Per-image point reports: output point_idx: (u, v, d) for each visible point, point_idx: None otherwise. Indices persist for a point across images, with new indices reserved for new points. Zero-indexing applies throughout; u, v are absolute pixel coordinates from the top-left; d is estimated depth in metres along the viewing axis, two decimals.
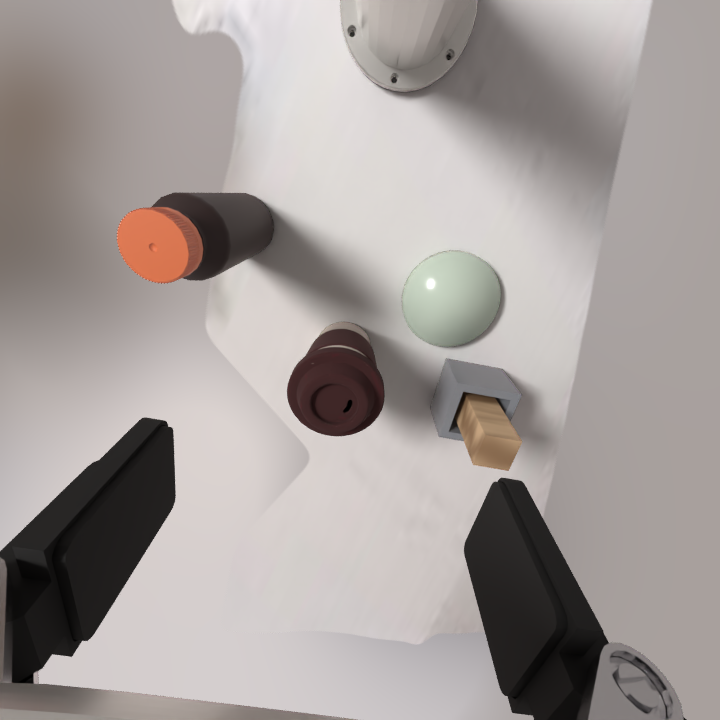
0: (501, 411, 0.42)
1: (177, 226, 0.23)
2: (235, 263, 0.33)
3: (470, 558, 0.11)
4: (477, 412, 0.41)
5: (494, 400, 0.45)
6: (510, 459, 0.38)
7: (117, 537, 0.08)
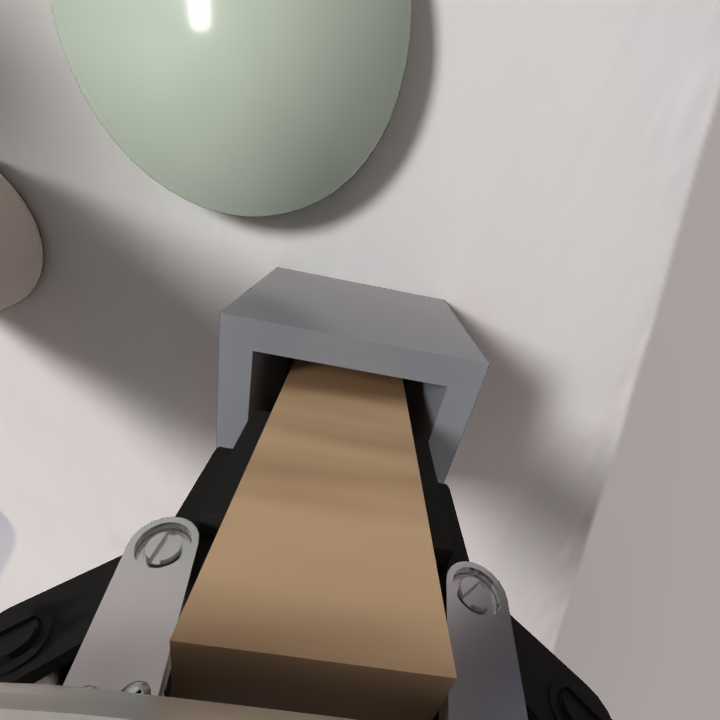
0: (402, 432, 0.10)
1: None
2: None
3: None
4: (276, 439, 0.09)
5: (397, 388, 0.12)
6: None
7: None
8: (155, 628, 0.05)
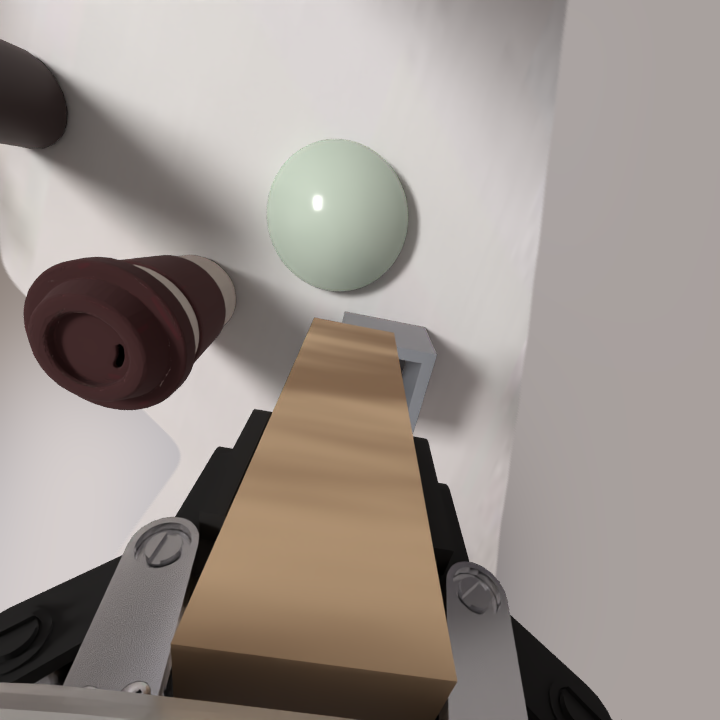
0: (402, 434, 0.10)
1: None
2: None
3: None
4: (276, 442, 0.09)
5: (397, 390, 0.12)
6: None
7: None
8: (155, 628, 0.05)
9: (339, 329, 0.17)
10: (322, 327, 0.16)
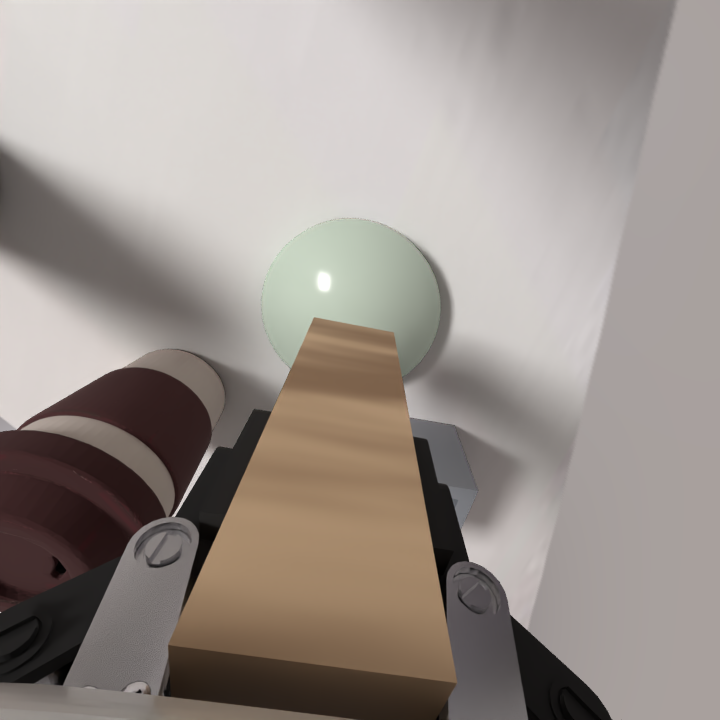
0: (402, 434, 0.10)
1: None
2: None
3: None
4: (275, 442, 0.09)
5: (396, 389, 0.12)
6: None
7: None
8: (155, 628, 0.05)
9: (339, 329, 0.17)
10: (321, 327, 0.16)
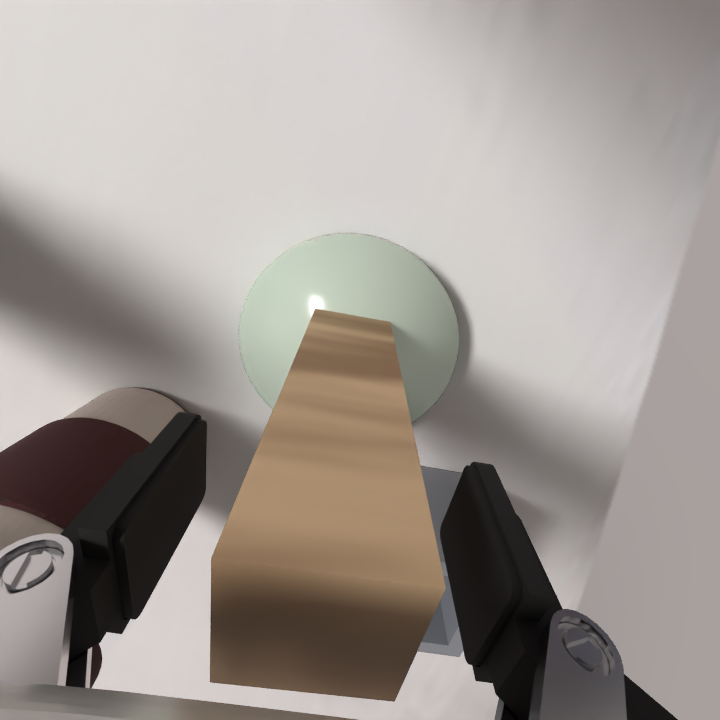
0: (399, 407, 0.11)
1: None
2: None
3: (444, 540, 0.11)
4: (287, 412, 0.10)
5: (393, 371, 0.14)
6: (393, 661, 0.07)
7: (161, 523, 0.08)
8: (36, 647, 0.05)
9: (339, 318, 0.18)
10: (322, 317, 0.18)
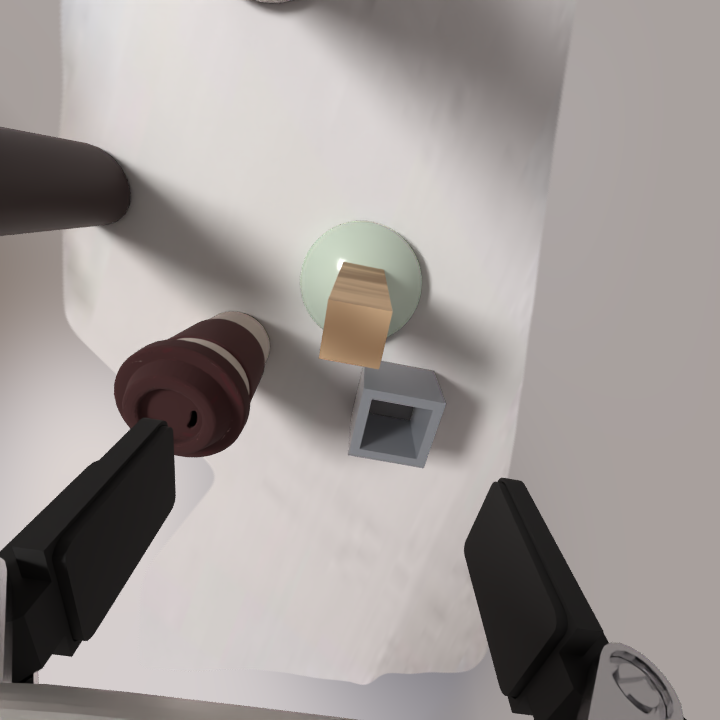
0: (384, 289, 0.27)
1: None
2: (23, 223, 0.24)
3: (470, 558, 0.11)
4: (340, 284, 0.26)
5: (383, 282, 0.29)
6: (378, 347, 0.23)
7: (117, 537, 0.08)
8: None
9: (356, 265, 0.34)
10: (348, 264, 0.33)
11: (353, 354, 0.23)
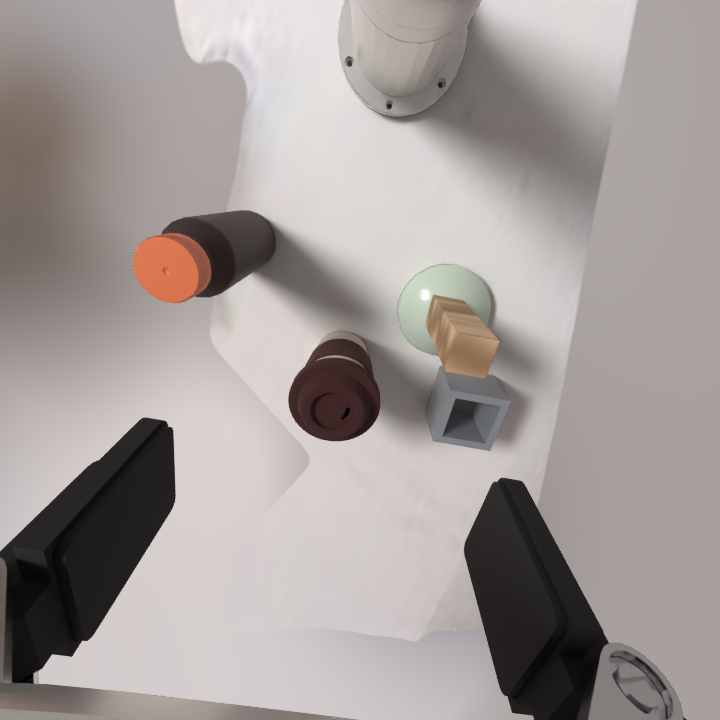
0: (479, 320, 0.38)
1: (188, 252, 0.26)
2: (240, 279, 0.35)
3: (470, 558, 0.11)
4: (451, 318, 0.37)
5: (473, 313, 0.40)
6: (487, 363, 0.34)
7: (117, 537, 0.08)
8: None
9: (444, 298, 0.45)
10: (438, 297, 0.44)
11: (469, 368, 0.34)
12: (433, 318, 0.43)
